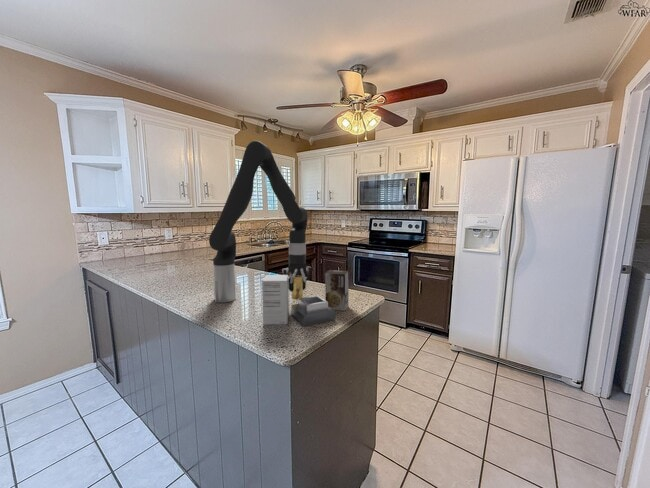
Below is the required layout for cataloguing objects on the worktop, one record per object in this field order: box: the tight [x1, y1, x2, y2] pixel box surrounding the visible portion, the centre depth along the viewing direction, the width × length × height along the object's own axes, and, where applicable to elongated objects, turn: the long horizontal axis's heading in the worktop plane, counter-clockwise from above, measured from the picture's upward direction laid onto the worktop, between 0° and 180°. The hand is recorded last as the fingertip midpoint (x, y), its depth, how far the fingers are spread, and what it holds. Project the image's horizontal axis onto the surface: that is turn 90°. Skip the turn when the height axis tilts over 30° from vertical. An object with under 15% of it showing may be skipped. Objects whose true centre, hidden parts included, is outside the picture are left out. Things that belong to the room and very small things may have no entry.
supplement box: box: [261, 274, 290, 326], centre depth 104 cm, size 10×9×17 cm
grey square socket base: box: [291, 295, 336, 327], centre depth 108 cm, size 13×13×7 cm
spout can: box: [291, 275, 304, 300], centre depth 122 cm, size 5×7×10 cm
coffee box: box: [324, 269, 350, 312], centre depth 118 cm, size 9×6×16 cm
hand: (297, 290), depth 122 cm, fingers closed on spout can, 5 cm apart
